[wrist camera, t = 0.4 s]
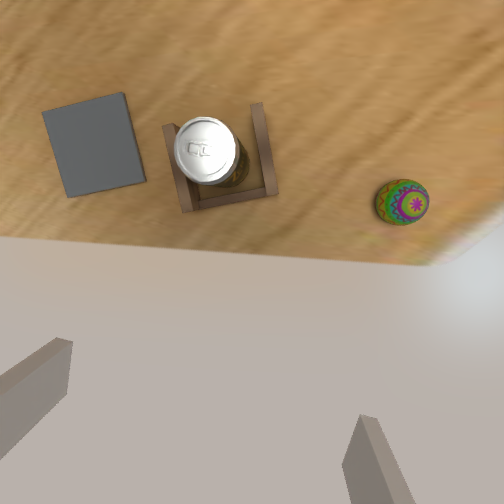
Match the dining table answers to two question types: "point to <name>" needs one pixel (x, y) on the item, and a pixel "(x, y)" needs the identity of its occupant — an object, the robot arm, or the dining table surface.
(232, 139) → the beer can
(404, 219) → the egg
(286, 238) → the dining table surface
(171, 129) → the rack
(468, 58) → the dining table surface
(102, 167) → the coaster
